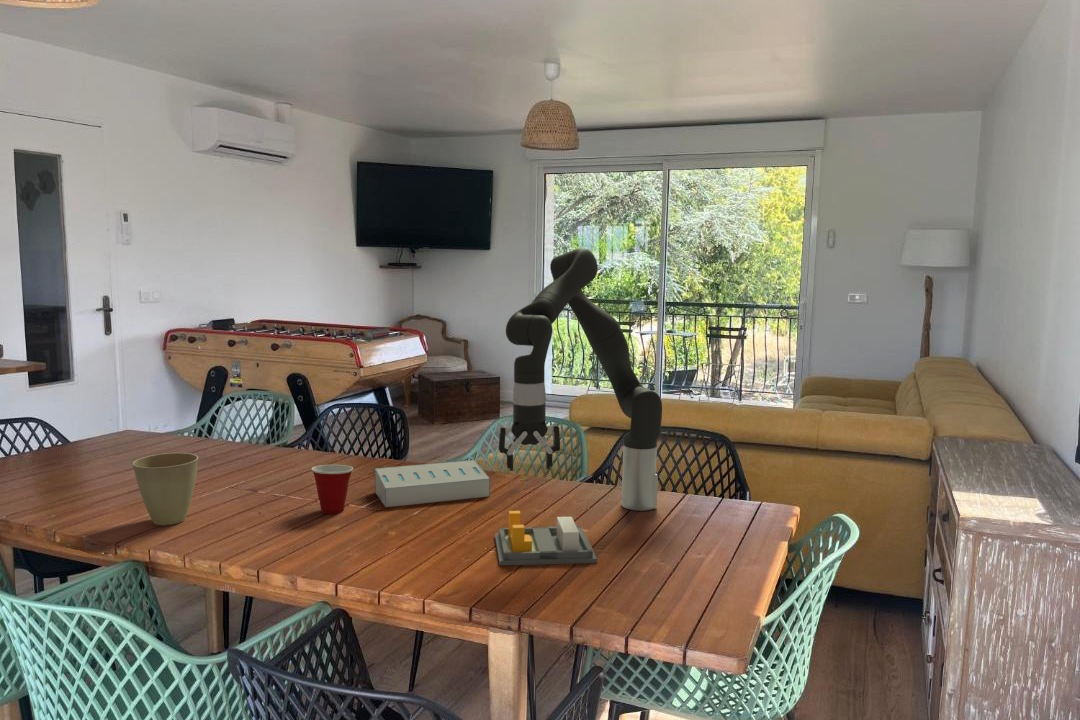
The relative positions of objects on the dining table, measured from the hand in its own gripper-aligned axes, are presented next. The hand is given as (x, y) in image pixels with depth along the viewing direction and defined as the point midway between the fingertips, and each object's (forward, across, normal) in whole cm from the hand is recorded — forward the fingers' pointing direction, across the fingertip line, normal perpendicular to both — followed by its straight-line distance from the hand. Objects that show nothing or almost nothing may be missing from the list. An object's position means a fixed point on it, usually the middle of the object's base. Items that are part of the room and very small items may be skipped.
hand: (529, 469), depth 184 cm
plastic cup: (+18, +49, -31) cm, 61 cm away
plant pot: (+18, +89, -26) cm, 95 cm away
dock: (+19, -3, +2) cm, 19 cm away
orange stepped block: (+18, +2, +2) cm, 18 cm away
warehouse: (+19, +23, -44) cm, 53 cm away
